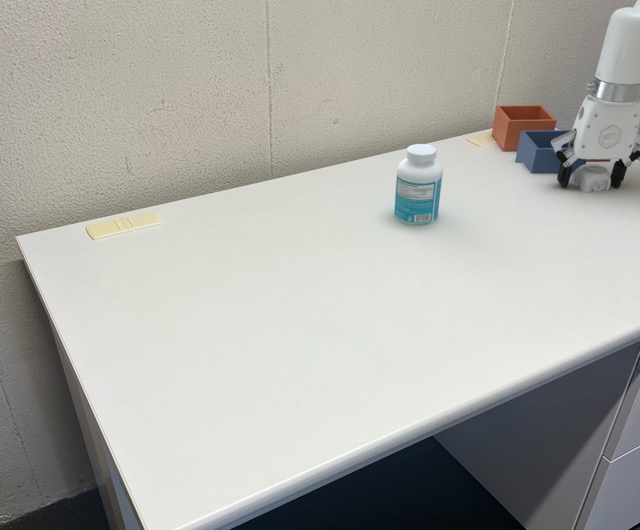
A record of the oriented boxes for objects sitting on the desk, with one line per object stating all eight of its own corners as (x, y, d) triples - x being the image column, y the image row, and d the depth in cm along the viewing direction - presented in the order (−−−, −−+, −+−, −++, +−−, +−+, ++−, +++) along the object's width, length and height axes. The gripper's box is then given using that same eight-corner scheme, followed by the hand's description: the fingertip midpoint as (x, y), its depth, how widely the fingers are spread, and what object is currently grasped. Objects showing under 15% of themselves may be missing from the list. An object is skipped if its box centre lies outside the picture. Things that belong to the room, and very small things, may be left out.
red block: (601, 154, 130) (607, 133, 127) (609, 162, 126) (615, 141, 123) (580, 154, 130) (585, 134, 127) (588, 163, 126) (593, 142, 123)
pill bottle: (412, 210, 109) (419, 136, 101) (445, 224, 105) (455, 149, 97) (384, 224, 105) (388, 148, 97) (417, 239, 101) (425, 161, 93)
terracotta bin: (535, 134, 140) (541, 105, 136) (549, 150, 132) (556, 120, 128) (491, 134, 140) (496, 105, 136) (503, 151, 132) (508, 120, 128)
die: (567, 190, 116) (573, 165, 113) (590, 187, 117) (597, 162, 114) (582, 201, 112) (590, 175, 109) (606, 198, 113) (614, 172, 110)
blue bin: (563, 160, 127) (571, 129, 123) (581, 181, 119) (590, 148, 115) (515, 161, 127) (521, 130, 123) (529, 181, 119) (536, 149, 115)
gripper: (572, 96, 100) (548, 193, 110) (676, 96, 100) (643, 193, 110) (557, 83, 106) (535, 176, 116) (655, 83, 106) (625, 176, 116)
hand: (588, 184), depth 113 cm, fingers open, 9 cm apart
